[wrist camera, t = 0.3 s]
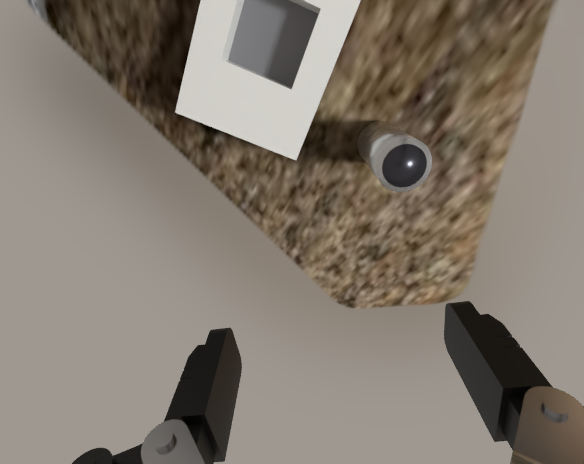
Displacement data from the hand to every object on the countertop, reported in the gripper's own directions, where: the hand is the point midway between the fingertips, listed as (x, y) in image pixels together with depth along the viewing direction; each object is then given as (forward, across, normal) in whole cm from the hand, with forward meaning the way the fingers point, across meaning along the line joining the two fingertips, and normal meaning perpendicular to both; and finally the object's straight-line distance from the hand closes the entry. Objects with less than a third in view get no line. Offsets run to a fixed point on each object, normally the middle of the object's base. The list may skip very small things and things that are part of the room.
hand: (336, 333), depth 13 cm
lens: (+28, -7, 0) cm, 29 cm away
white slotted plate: (+28, +2, -12) cm, 30 cm away
